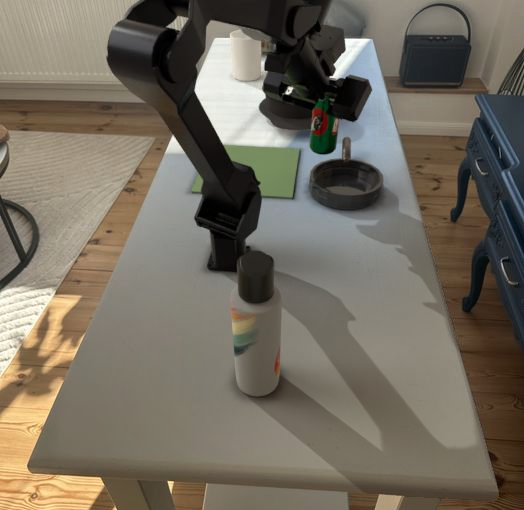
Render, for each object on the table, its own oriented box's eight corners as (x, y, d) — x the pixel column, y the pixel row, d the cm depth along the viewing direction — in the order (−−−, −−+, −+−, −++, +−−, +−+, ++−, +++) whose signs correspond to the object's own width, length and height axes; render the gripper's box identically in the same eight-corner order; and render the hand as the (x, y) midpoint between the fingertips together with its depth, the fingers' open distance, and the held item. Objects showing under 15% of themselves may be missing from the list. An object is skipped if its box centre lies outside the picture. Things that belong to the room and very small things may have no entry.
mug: (235, 66, 141) (233, 24, 133) (263, 66, 141) (263, 25, 133) (230, 81, 133) (228, 38, 125) (260, 82, 133) (259, 39, 125)
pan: (381, 212, 90) (384, 197, 88) (306, 208, 91) (308, 192, 89) (378, 175, 99) (381, 160, 97) (310, 171, 100) (312, 156, 98)
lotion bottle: (278, 363, 66) (281, 241, 51) (280, 397, 62) (285, 276, 47) (236, 364, 66) (227, 243, 51) (236, 398, 62) (227, 278, 47)
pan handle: (350, 167, 98) (351, 159, 96) (341, 167, 98) (342, 158, 97) (350, 143, 105) (351, 135, 103) (341, 143, 105) (342, 135, 104)
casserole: (338, 138, 110) (343, 99, 104) (257, 138, 110) (257, 99, 104) (330, 95, 127) (334, 59, 120) (259, 94, 127) (259, 59, 121)
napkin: (292, 198, 93) (292, 197, 93) (191, 192, 95) (191, 190, 95) (299, 150, 106) (299, 148, 106) (210, 145, 108) (210, 144, 108)
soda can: (336, 156, 90) (344, 87, 81) (309, 155, 90) (314, 86, 82) (335, 144, 94) (343, 77, 85) (309, 143, 94) (314, 76, 85)
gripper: (377, 20, 69) (397, 82, 83) (274, -1, 77) (308, 59, 91) (341, 95, 71) (366, 143, 85) (243, 67, 78) (281, 116, 92)
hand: (330, 113), depth 88 cm, fingers closed on soda can, 5 cm apart
